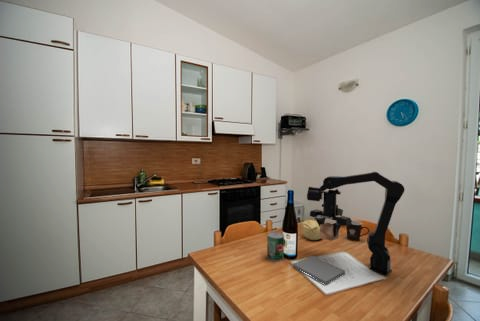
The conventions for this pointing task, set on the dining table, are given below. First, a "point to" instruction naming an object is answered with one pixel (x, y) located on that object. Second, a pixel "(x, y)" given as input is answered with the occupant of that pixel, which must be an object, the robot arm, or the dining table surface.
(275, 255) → the canned tomato
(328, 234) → the terracotta cube
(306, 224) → the pale yellow rounded lump
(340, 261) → the dining table surface
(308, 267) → the charcoal board
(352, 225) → the coffee mug
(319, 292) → the dining table surface
